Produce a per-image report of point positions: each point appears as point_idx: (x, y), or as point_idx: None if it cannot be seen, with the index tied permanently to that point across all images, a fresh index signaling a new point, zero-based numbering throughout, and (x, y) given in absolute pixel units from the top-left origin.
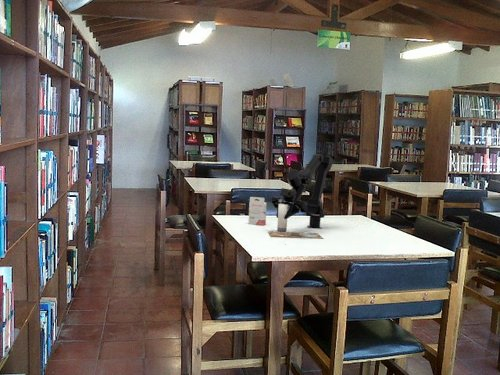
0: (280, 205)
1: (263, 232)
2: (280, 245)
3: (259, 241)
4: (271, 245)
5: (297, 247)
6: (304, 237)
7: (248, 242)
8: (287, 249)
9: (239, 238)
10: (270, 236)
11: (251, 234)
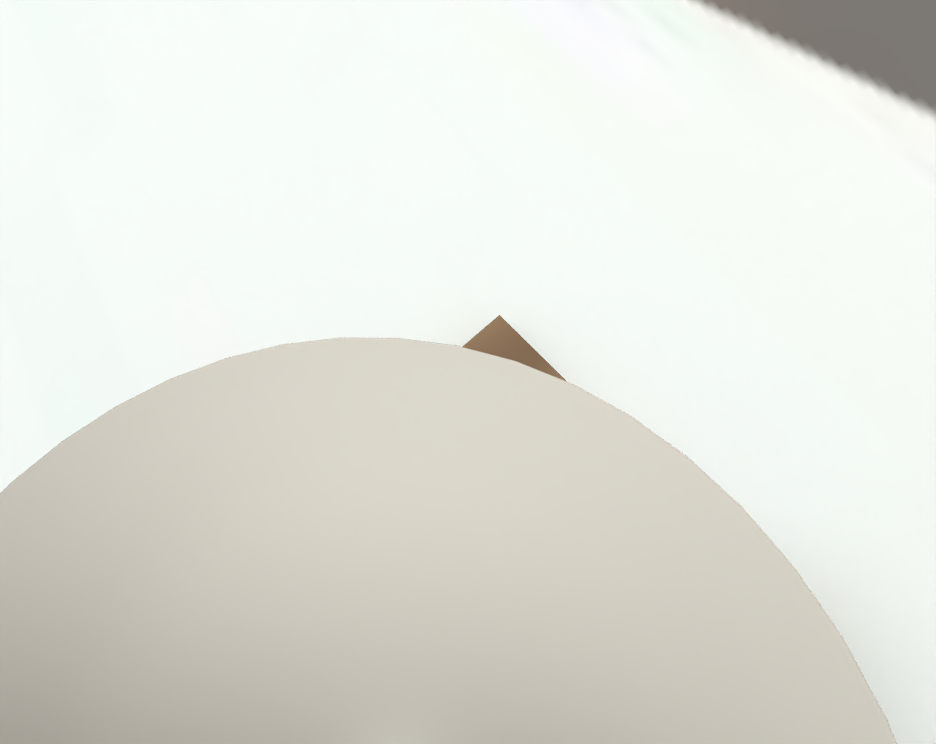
0: (396, 358)
1: (925, 662)
2: (227, 142)
3: (502, 115)
4: (299, 76)
5: (45, 203)
6: None
7: (549, 3)
8: (101, 69)
9: (762, 58)
10: (529, 345)
11: (887, 351)
